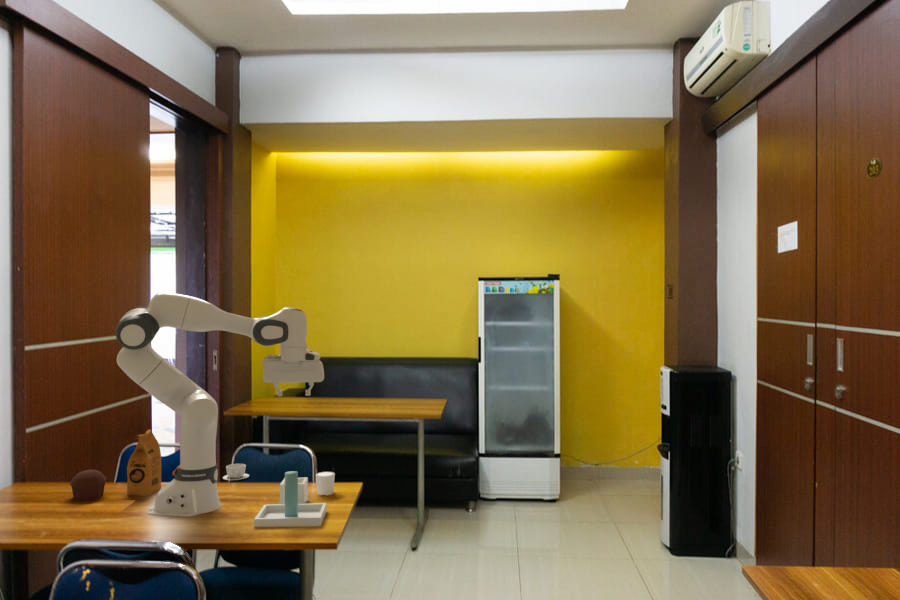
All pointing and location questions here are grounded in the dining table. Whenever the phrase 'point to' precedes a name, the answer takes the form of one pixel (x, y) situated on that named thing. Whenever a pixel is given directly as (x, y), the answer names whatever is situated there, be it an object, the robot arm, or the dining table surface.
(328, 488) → the tan cylinder
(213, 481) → the robot arm
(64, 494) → the dining table surface
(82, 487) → the muffin
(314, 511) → the tray
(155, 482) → the coffee package
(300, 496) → the deep box
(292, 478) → the dowel
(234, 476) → the teacup
